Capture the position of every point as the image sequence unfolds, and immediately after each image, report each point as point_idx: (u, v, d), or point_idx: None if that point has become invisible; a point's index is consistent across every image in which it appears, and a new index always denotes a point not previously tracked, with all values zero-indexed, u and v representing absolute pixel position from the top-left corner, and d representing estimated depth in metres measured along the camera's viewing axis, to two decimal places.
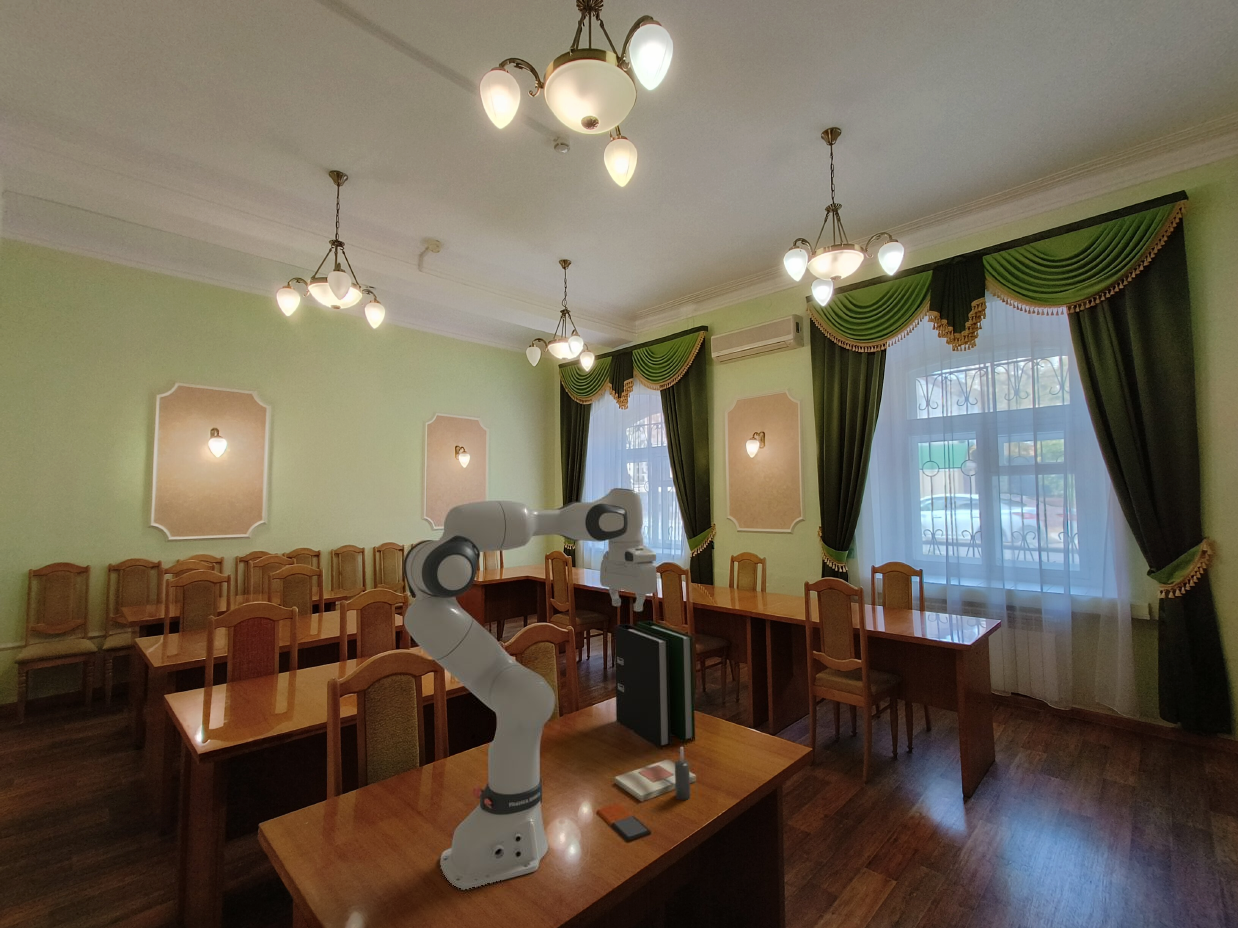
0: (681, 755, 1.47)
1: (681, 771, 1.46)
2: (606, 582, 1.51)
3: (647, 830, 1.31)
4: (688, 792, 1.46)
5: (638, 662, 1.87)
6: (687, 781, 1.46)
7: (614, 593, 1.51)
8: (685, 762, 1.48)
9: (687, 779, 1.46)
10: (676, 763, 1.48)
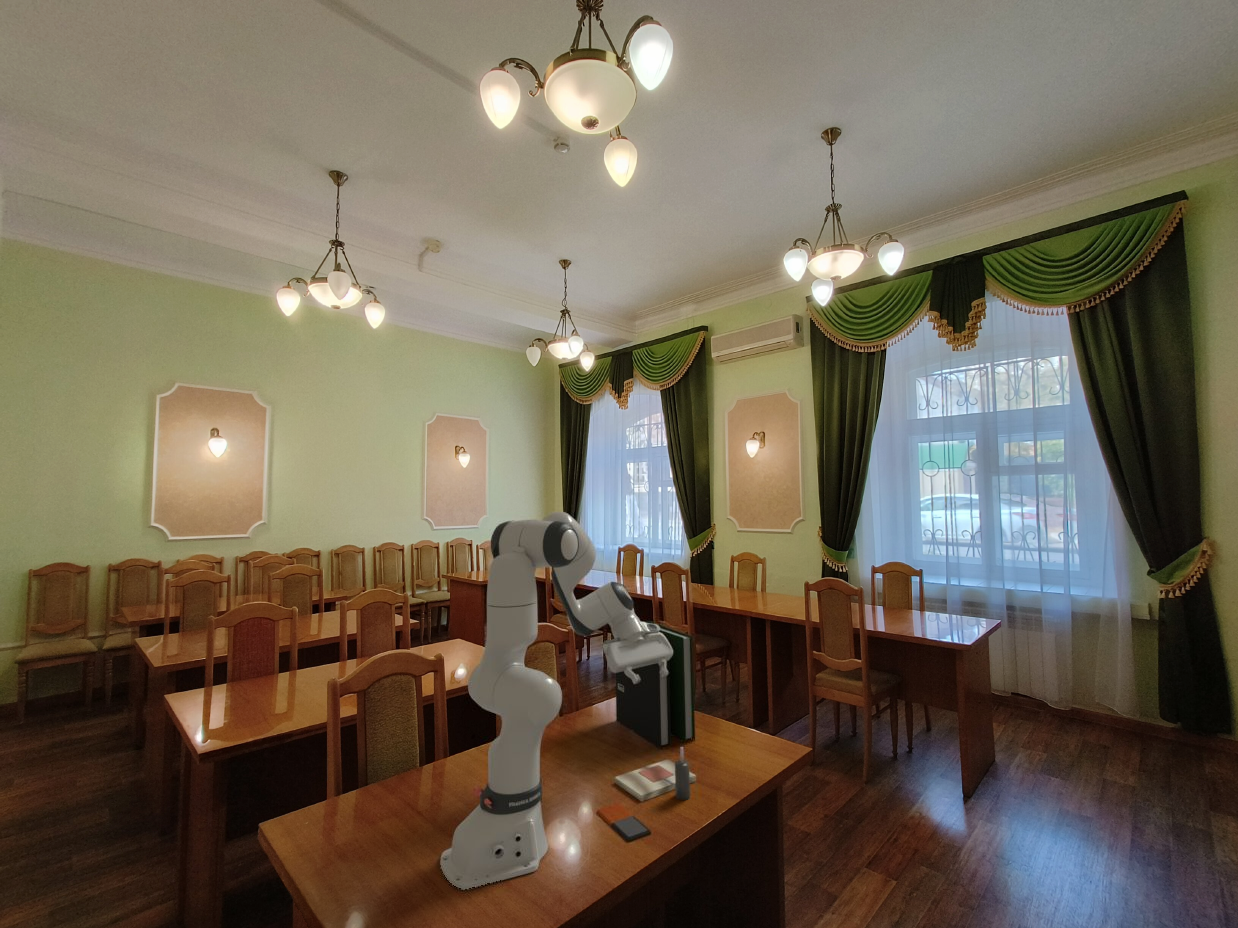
0: (681, 755, 1.47)
1: (681, 771, 1.46)
2: (625, 660, 1.58)
3: (647, 830, 1.31)
4: (688, 792, 1.46)
5: None
6: (687, 781, 1.46)
7: None
8: (685, 762, 1.48)
9: (687, 779, 1.46)
10: (676, 763, 1.48)
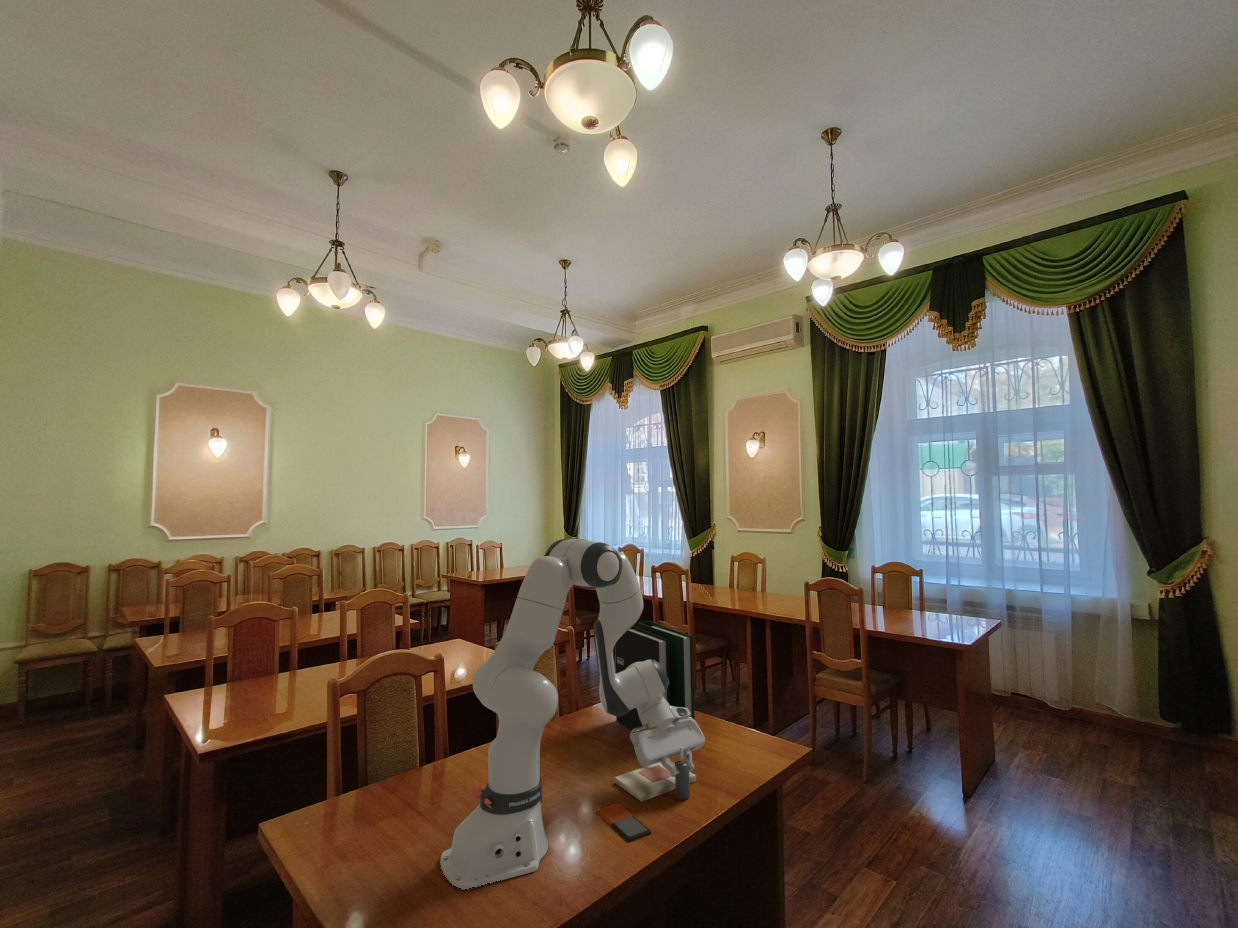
0: (681, 755, 1.47)
1: (681, 771, 1.46)
2: (656, 752, 1.46)
3: (647, 830, 1.31)
4: (688, 792, 1.46)
5: None
6: (687, 781, 1.46)
7: None
8: (685, 762, 1.48)
9: (687, 779, 1.46)
10: (676, 762, 1.48)
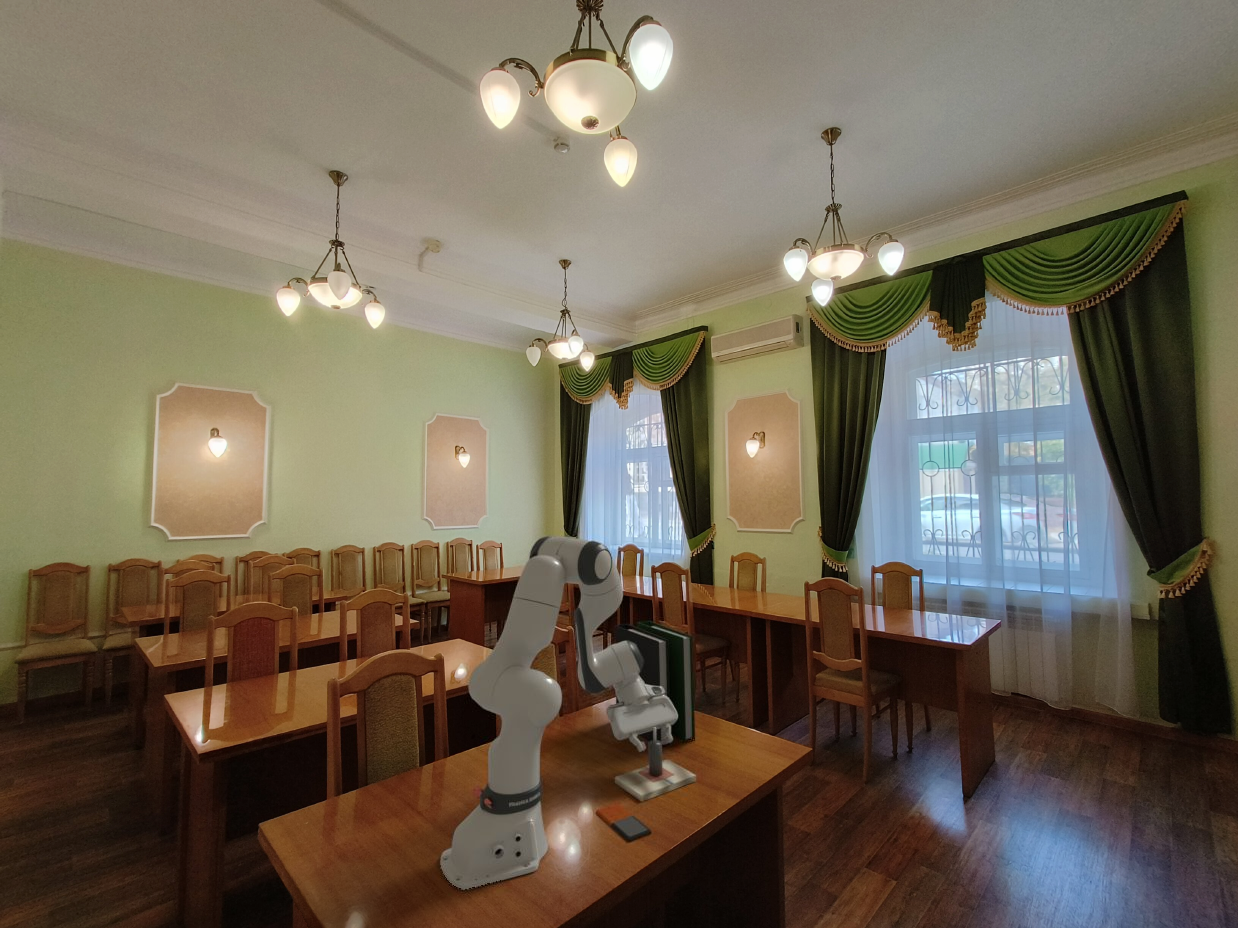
0: (654, 734, 1.57)
1: (654, 749, 1.55)
2: (630, 727, 1.55)
3: (647, 830, 1.31)
4: (661, 769, 1.55)
5: None
6: (660, 759, 1.55)
7: None
8: (658, 741, 1.57)
9: (659, 757, 1.55)
10: (650, 742, 1.57)
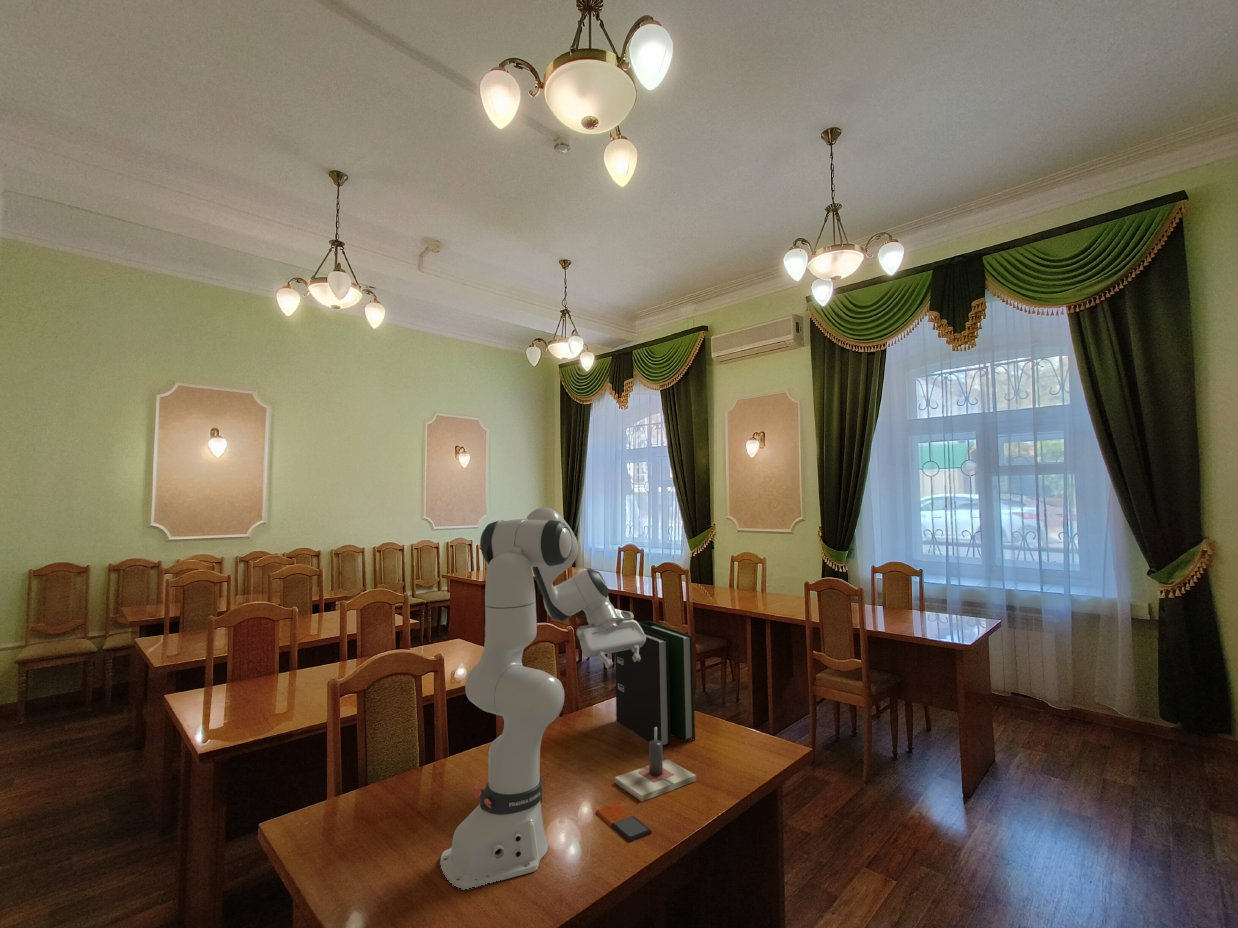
0: (655, 735, 1.56)
1: (654, 749, 1.55)
2: (598, 645, 1.62)
3: (647, 829, 1.31)
4: (660, 769, 1.55)
5: (638, 662, 1.87)
6: (660, 759, 1.55)
7: None
8: (658, 742, 1.57)
9: (660, 757, 1.55)
10: (651, 741, 1.57)
